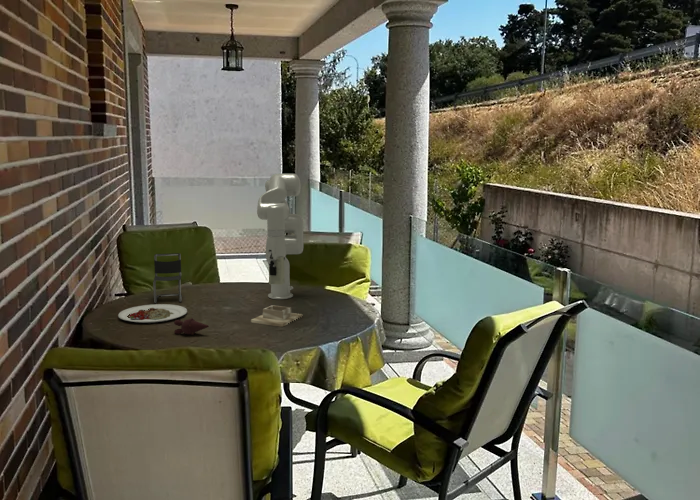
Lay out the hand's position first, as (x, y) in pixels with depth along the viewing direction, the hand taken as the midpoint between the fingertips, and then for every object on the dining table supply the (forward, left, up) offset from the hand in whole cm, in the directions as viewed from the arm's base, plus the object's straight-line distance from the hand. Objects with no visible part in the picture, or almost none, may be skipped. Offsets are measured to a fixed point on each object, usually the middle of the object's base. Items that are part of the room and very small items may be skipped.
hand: (276, 273), depth 290 cm
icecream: (+35, -20, -21) cm, 46 cm away
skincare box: (0, 0, -5) cm, 5 cm away
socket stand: (0, 0, -21) cm, 21 cm away
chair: (-8, -68, -21) cm, 72 cm away
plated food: (+19, -54, -21) cm, 61 cm away
